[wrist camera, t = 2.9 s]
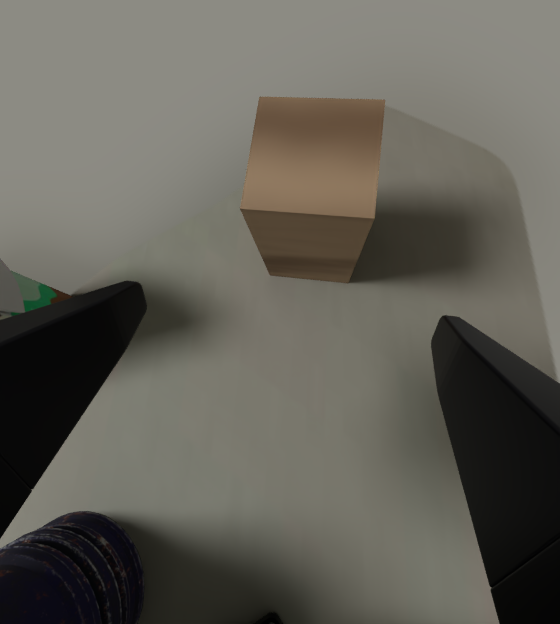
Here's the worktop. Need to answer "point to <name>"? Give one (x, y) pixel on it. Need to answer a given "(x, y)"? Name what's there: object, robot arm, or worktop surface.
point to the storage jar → (72, 574)
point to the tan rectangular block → (313, 184)
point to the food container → (24, 293)
